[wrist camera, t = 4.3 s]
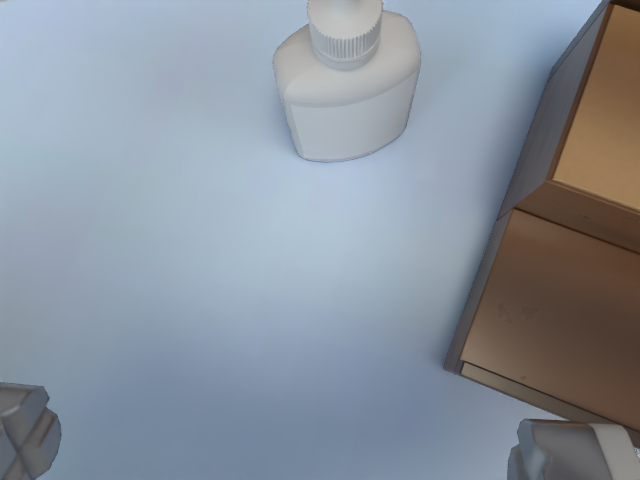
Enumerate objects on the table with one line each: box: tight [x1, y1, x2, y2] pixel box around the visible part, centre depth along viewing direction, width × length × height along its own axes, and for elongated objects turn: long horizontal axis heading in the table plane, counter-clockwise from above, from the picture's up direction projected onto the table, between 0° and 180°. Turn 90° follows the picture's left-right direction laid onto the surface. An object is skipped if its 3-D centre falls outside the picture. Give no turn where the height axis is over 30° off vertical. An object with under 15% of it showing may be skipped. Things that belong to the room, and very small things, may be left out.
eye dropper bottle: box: [273, 0, 421, 162], centre depth 22 cm, size 4×6×12 cm
